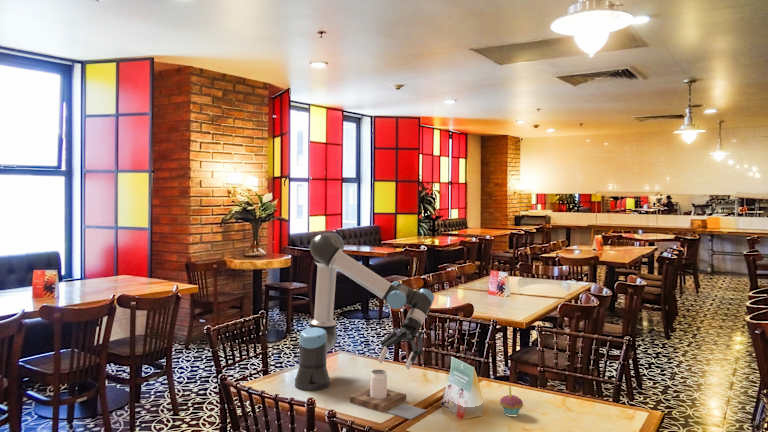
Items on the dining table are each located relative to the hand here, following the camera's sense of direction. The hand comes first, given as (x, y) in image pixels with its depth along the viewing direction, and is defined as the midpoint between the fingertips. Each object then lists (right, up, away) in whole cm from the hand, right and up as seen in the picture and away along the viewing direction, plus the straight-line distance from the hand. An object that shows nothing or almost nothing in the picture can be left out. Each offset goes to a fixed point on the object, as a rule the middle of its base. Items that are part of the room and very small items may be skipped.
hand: (393, 364), depth 233 cm
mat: (+5, -14, -16) cm, 22 cm away
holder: (-6, -13, -6) cm, 16 cm away
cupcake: (+44, -15, -17) cm, 50 cm away
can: (-6, -13, -6) cm, 16 cm away
